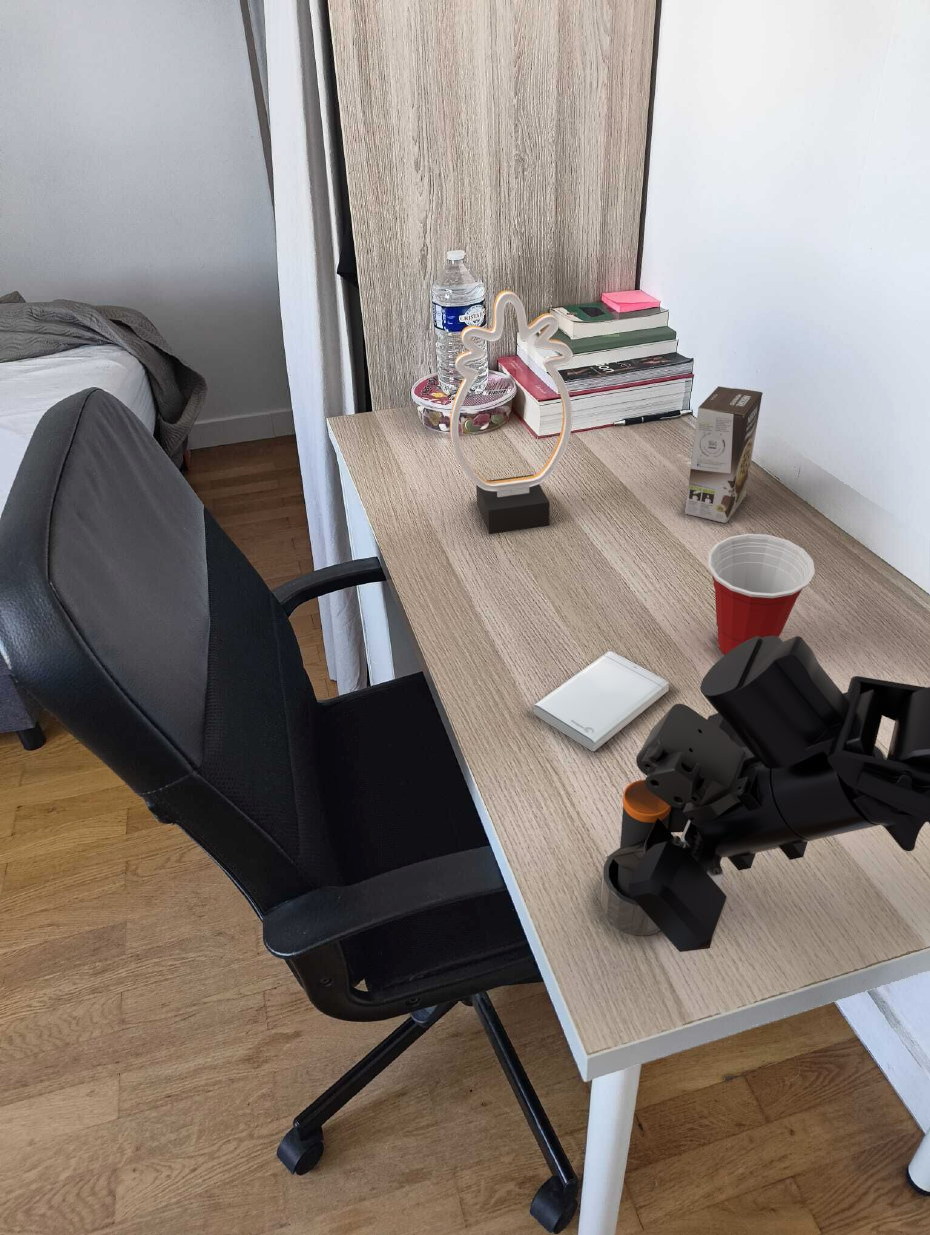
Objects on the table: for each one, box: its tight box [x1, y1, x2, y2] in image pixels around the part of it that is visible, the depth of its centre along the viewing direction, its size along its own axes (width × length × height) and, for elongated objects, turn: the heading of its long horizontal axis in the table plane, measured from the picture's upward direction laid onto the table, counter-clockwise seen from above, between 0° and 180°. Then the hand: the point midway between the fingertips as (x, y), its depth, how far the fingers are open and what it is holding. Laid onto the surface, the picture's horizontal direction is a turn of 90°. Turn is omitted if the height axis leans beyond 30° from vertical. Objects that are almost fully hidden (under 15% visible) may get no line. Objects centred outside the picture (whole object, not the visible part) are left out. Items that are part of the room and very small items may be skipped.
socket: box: [600, 847, 662, 937], centre depth 68 cm, size 6×6×4 cm
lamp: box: [449, 290, 574, 535], centre depth 113 cm, size 17×9×32 cm, turn 101°
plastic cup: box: [707, 533, 816, 656], centre depth 92 cm, size 11×11×12 cm
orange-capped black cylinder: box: [617, 779, 671, 900], centre depth 65 cm, size 4×4×12 cm
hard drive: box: [533, 650, 670, 752], centre depth 89 cm, size 2×8×12 cm
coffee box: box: [684, 386, 763, 524], centre depth 117 cm, size 9×6×16 cm
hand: (625, 842), depth 66 cm, fingers closed on orange-capped black cylinder, 3 cm apart
